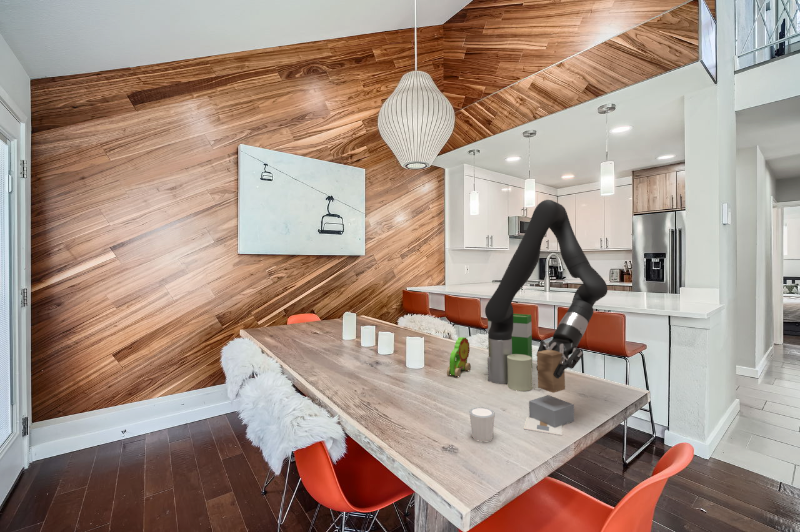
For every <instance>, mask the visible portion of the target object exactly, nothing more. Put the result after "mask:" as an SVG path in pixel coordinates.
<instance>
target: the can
mask: <svg viewBox="0 0 800 532" xmlns="http://www.w3.org/2000/svg"><path fill="white" fill-rule="evenodd" d="M507 365H508V383H507V386H506V387H508V389H509V390H512V391H516V390H517V392H529V390H530V391H532V390H533V388H534V386H533V356H532V357H530V356H528V355H522V354H511V355H508V356H507Z"/></svg>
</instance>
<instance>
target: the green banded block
mask: <svg viewBox="0 0 800 532" xmlns="http://www.w3.org/2000/svg"><path fill="white" fill-rule="evenodd" d="M532 326H533V325H532V314H526V313H524V314H523V313H513V332H512V354H522V355H528V356H530V357H532V358H533V337H532V336H533V330H532ZM490 327H491V321H489V320H488V319H487V332H488V331H489V329H490ZM487 347H488V348H487V349H488V351H489V345H488V346H487Z"/></svg>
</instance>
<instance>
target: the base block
mask: <svg viewBox="0 0 800 532" xmlns="http://www.w3.org/2000/svg"><path fill="white" fill-rule="evenodd" d="M528 413H529V414H528V415H529V416H528V417H529V418H534V419H536V420H539V421H541V422H543V423H546V424H547V425H550V426H552V427H554V428H556V427H558V426H561V425H562V427H563V426H565V425H567V424H570V423H573V422H575V404H573V403H571V402H568V401H566V400H563V399H561V398H557V397H554V396H552V395H549V394H547V395H544V396H541V397H538V398H534V399H530V400H529V401H528Z"/></svg>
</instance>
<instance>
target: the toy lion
mask: <svg viewBox="0 0 800 532" xmlns="http://www.w3.org/2000/svg"><path fill="white" fill-rule="evenodd" d="M469 355H470V342H469V339H468V338H467V337H466V336H465V337H463V336H460V337H459V336H458V337H457V339H456V341H455V344H454V348H453V349H452V351H451V353H450V355H449V366H448V367H447V369H446V375H447V376H449V375H450V374H451V376H455V377H456V376H457V377H456V378H459V377H458V376H460V377H461V374H462V370H463V371H466V370H467V371H466V372H469V371H468V370H470V371H471V368H472V366H471V363H470V362H468V358H469ZM461 369H462V370H461Z"/></svg>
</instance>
